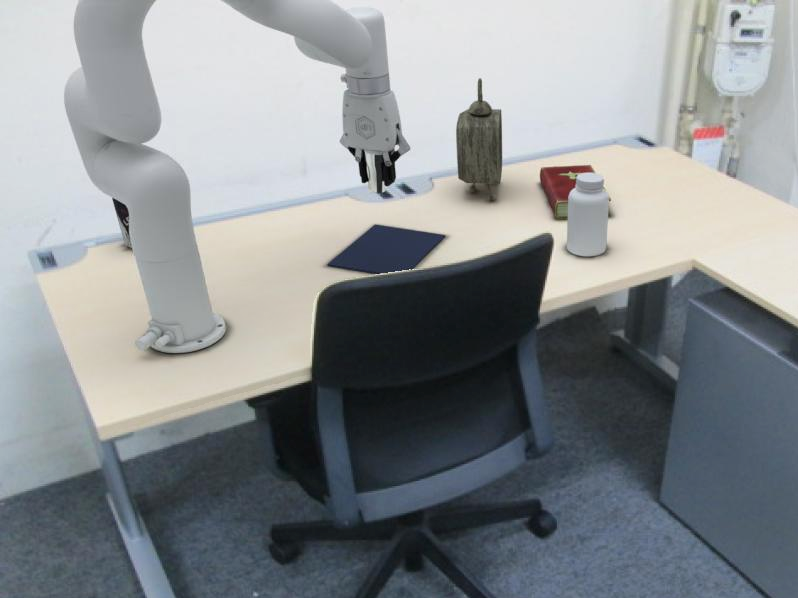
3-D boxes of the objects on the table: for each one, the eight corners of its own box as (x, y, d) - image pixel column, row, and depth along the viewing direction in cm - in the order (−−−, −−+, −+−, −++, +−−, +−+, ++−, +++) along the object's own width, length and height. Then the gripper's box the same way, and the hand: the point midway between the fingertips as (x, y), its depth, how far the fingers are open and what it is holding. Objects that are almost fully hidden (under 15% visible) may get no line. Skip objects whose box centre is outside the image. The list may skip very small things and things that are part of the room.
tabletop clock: (499, 204, 199) (497, 89, 185) (458, 204, 199) (453, 88, 185) (502, 181, 211) (500, 70, 197) (464, 180, 211) (459, 70, 197)
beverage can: (125, 252, 178) (109, 194, 171) (125, 240, 182) (109, 183, 175) (156, 248, 179) (141, 190, 172) (155, 236, 184) (140, 180, 177)
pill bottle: (614, 248, 181) (618, 176, 172) (588, 261, 176) (591, 187, 167) (584, 237, 185) (587, 166, 177) (558, 249, 180) (560, 177, 172)
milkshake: (388, 197, 170) (387, 145, 164) (361, 192, 170) (359, 140, 164) (396, 188, 173) (395, 137, 167) (370, 183, 174) (368, 132, 168)
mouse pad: (402, 278, 169) (402, 276, 169) (327, 265, 173) (327, 263, 173) (445, 236, 185) (445, 234, 185) (375, 226, 189) (375, 224, 189)
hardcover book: (555, 219, 193) (555, 200, 190) (539, 183, 210) (539, 166, 207) (609, 216, 194) (611, 197, 192) (590, 181, 211) (590, 163, 209)
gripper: (316, 84, 160) (329, 183, 170) (402, 94, 155) (410, 195, 166) (337, 74, 166) (348, 170, 176) (420, 82, 161) (427, 181, 172)
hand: (378, 181), depth 171 cm, fingers closed on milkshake, 4 cm apart
